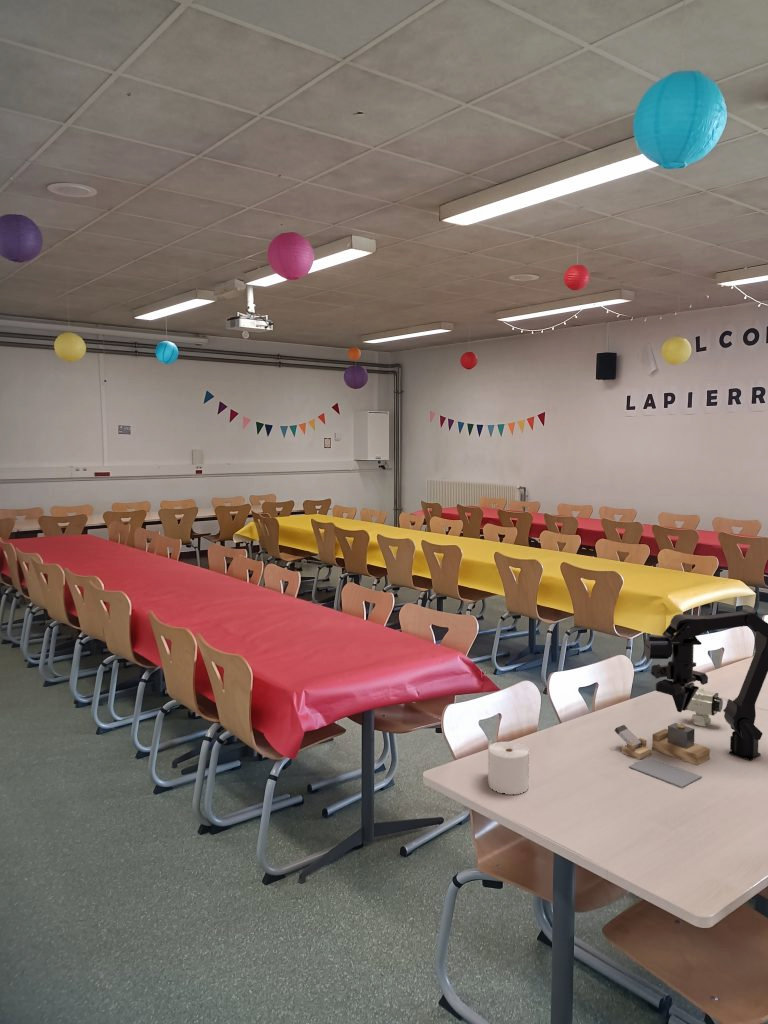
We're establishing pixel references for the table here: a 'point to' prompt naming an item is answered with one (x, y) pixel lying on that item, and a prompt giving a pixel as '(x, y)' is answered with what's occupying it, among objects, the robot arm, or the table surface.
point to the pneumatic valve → (704, 706)
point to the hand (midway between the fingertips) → (681, 711)
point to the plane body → (679, 749)
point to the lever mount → (637, 750)
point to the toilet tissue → (508, 767)
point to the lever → (628, 736)
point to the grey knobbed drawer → (681, 735)
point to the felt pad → (665, 772)
